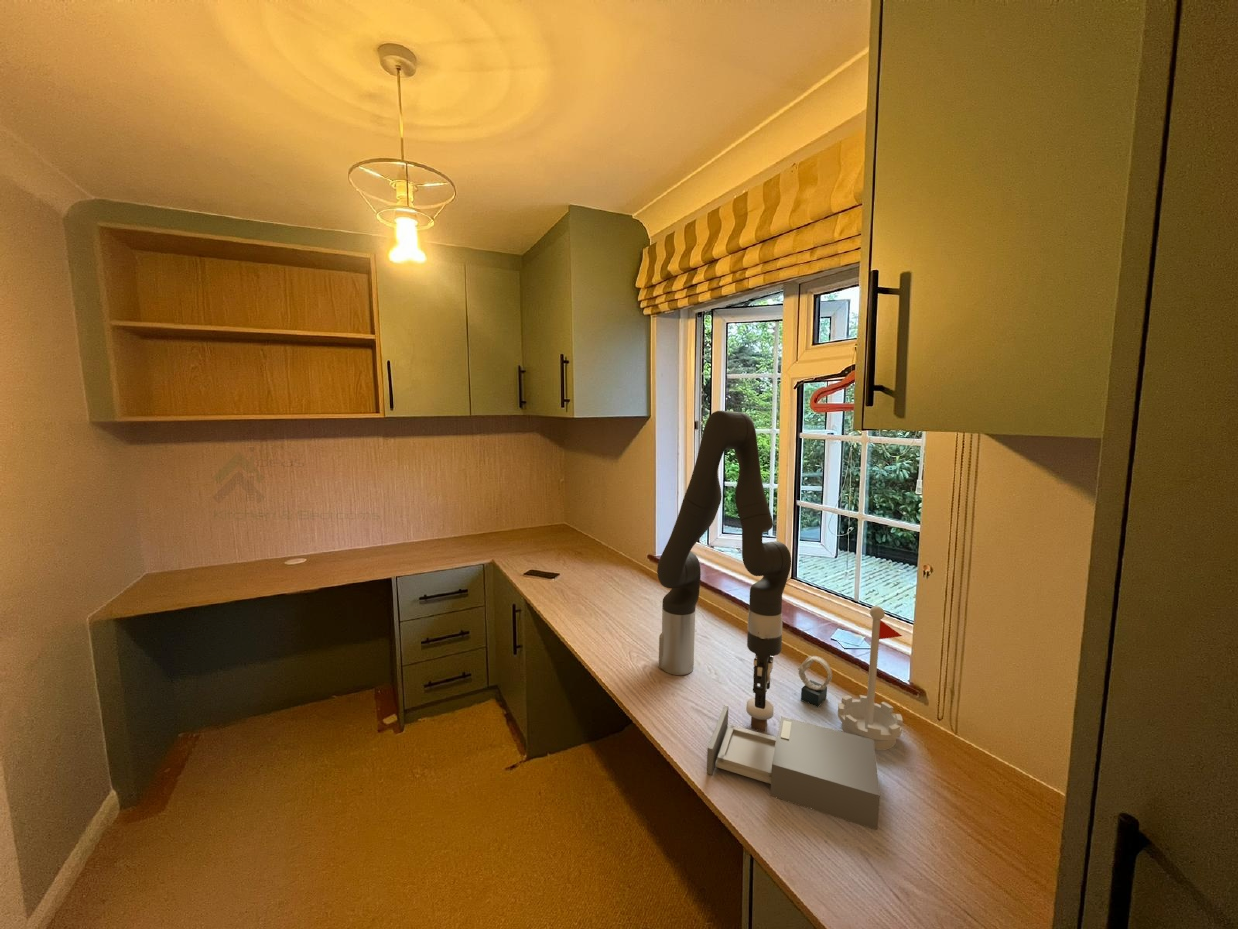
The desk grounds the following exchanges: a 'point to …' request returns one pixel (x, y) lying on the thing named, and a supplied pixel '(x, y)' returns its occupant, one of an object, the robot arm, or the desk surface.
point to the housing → (826, 771)
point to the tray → (740, 750)
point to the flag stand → (872, 698)
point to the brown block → (758, 724)
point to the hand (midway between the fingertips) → (762, 697)
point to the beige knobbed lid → (759, 710)
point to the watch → (814, 690)
